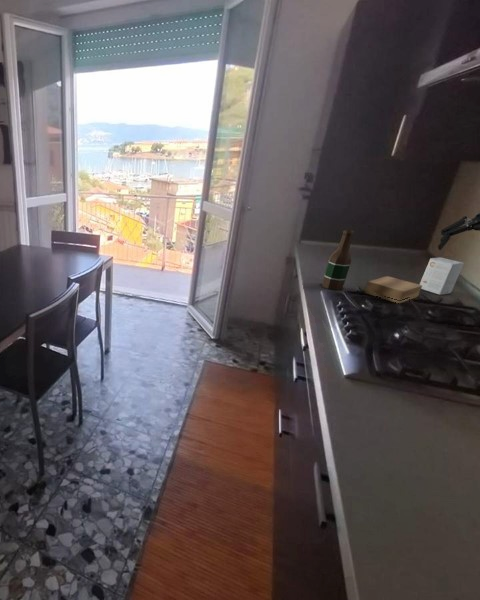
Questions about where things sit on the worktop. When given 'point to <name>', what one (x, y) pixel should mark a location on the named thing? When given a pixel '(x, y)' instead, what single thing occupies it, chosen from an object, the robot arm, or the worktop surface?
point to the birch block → (393, 289)
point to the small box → (441, 275)
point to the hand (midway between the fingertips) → (460, 252)
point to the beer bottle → (338, 264)
